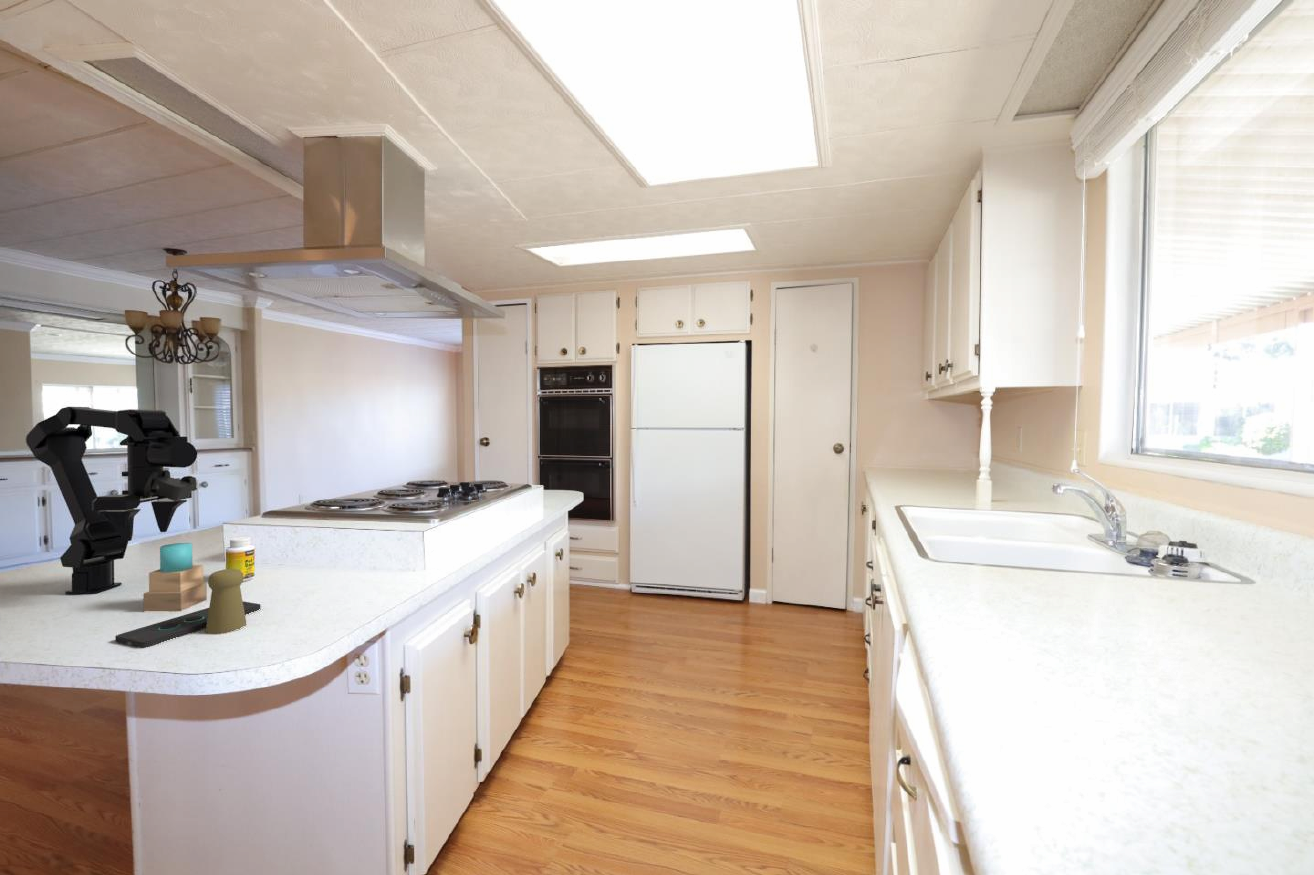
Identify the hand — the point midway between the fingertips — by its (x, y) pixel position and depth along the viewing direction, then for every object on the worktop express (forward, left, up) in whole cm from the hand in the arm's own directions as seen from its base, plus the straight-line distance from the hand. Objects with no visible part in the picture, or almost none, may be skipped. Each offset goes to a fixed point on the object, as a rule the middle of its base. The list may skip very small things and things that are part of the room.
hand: (146, 536), depth 117 cm
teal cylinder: (+8, +12, -5) cm, 15 cm away
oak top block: (+7, +11, -9) cm, 17 cm away
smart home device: (+19, +23, -14) cm, 33 cm away
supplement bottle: (-10, +13, -13) cm, 21 cm away
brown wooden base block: (+8, +12, -13) cm, 19 cm away
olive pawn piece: (+21, +30, -13) cm, 39 cm away
